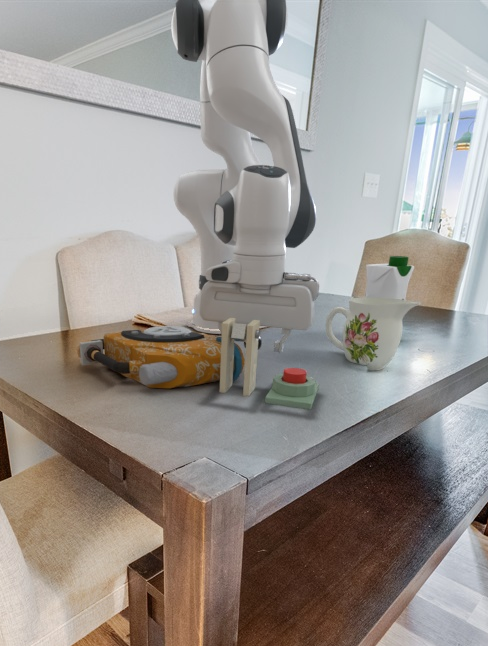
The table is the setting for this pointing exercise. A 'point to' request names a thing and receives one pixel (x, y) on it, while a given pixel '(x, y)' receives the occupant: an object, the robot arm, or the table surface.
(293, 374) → the button
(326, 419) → the table surface
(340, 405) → the table surface
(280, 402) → the button box
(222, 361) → the bracket
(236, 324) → the lever
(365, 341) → the pitcher
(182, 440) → the table surface
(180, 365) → the device
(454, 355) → the table surface
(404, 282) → the milk carton
